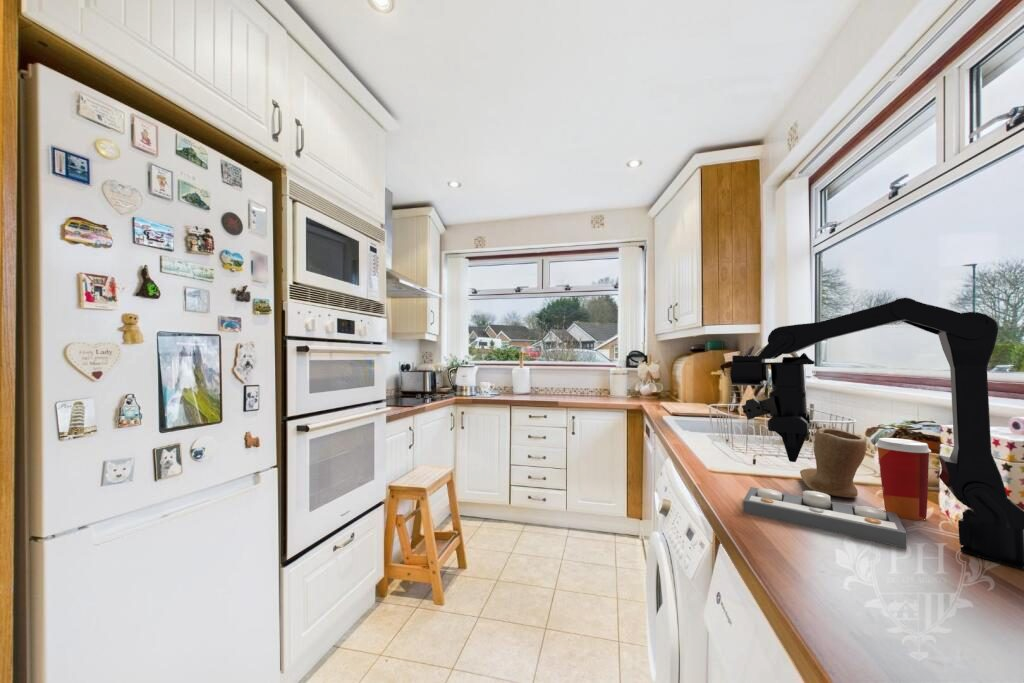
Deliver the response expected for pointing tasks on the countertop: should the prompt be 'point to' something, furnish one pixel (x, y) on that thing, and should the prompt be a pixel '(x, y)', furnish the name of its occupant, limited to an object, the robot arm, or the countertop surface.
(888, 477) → the coffee cup
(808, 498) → the button middle
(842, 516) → the button board
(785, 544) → the countertop surface
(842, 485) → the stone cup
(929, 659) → the countertop surface
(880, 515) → the button
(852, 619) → the countertop surface
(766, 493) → the button
